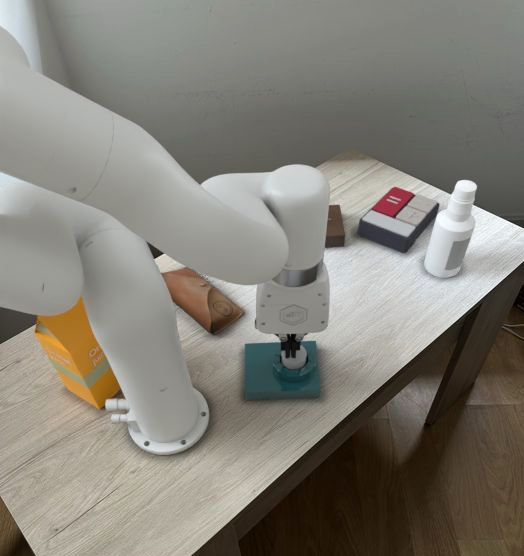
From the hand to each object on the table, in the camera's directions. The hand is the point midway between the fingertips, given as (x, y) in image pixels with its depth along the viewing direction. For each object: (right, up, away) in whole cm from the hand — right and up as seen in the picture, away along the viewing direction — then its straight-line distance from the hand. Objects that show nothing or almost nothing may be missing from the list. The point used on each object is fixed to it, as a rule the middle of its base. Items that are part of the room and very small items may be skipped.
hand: (290, 351), depth 81 cm
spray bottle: (+30, +16, +20) cm, 40 cm away
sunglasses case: (-16, +9, +16) cm, 25 cm away
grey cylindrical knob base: (-1, -4, +5) cm, 6 cm away
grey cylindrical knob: (+1, -1, +2) cm, 3 cm away
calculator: (+24, +26, +28) cm, 45 cm away
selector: (+5, +25, +27) cm, 37 cm away
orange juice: (-31, -5, +6) cm, 32 cm away
